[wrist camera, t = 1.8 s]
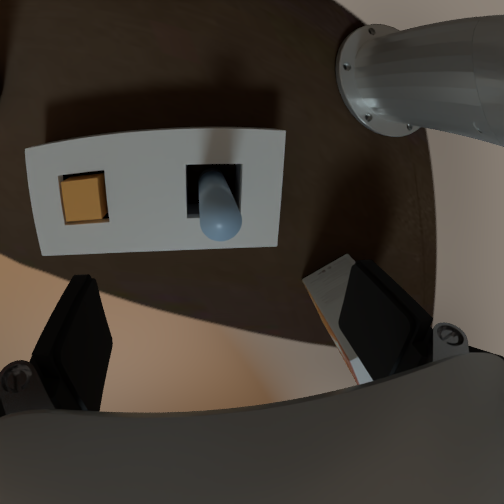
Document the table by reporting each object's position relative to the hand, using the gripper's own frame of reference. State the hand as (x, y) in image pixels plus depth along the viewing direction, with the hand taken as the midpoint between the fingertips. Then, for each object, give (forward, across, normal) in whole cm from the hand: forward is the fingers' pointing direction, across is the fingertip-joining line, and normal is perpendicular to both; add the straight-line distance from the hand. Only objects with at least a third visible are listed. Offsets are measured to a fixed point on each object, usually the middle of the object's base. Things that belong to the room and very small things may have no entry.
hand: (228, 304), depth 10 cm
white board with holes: (+18, +5, 0) cm, 19 cm away
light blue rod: (+18, -1, 0) cm, 18 cm away
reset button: (+16, +10, 0) cm, 19 cm away
